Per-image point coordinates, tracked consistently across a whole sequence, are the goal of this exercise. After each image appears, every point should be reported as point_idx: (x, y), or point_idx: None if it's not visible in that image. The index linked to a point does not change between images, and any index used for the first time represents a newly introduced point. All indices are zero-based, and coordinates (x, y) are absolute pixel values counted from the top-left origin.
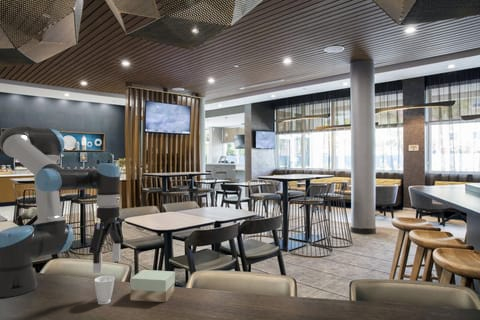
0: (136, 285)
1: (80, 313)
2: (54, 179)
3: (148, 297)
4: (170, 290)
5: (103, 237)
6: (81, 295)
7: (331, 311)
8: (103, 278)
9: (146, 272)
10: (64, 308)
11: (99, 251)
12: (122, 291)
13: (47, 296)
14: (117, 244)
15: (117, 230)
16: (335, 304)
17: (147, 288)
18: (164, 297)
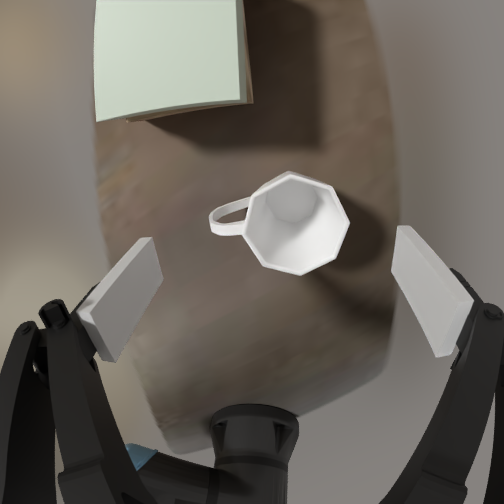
0: (243, 71)
1: (387, 222)
2: None
3: (245, 30)
4: None
5: (476, 441)
6: (250, 298)
7: None
8: (262, 248)
9: (128, 75)
10: (354, 288)
11: (499, 313)
12: (179, 181)
13: (276, 367)
14: (99, 326)
15: (30, 431)
16: None
17: (242, 22)
18: None
